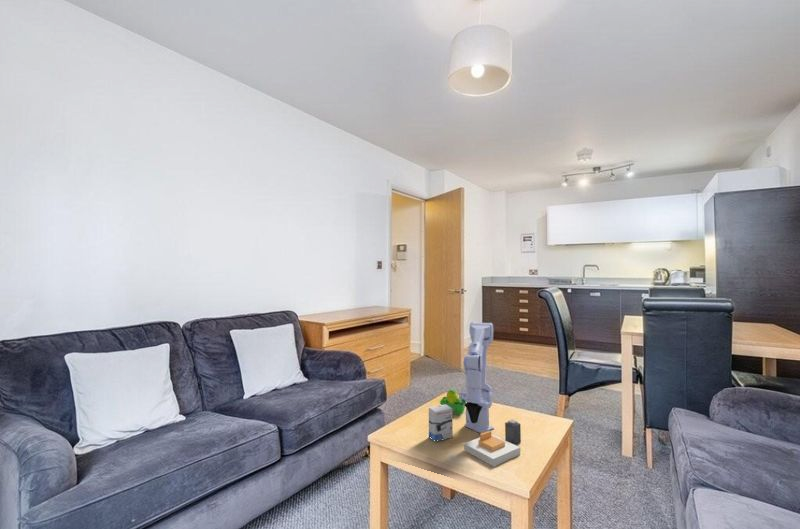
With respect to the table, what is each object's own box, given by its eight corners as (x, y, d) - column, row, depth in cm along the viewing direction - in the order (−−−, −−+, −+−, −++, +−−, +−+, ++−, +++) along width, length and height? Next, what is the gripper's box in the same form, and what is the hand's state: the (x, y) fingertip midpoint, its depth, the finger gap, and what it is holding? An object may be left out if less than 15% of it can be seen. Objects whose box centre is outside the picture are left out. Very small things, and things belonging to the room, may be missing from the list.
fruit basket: (467, 410, 175) (466, 386, 175) (462, 417, 167) (462, 392, 167) (444, 407, 180) (443, 383, 180) (438, 413, 172) (437, 389, 172)
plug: (505, 441, 143) (505, 420, 143) (512, 438, 145) (511, 418, 145) (513, 445, 140) (513, 424, 140) (520, 442, 142) (520, 421, 142)
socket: (464, 450, 136) (463, 443, 136) (490, 440, 144) (490, 433, 144) (493, 466, 125) (493, 459, 125) (520, 454, 133) (520, 447, 133)
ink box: (435, 442, 143) (434, 411, 143) (428, 437, 147) (427, 407, 147) (453, 437, 147) (452, 407, 147) (446, 432, 151) (445, 403, 151)
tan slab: (478, 444, 135) (478, 434, 135) (490, 439, 139) (490, 430, 139) (492, 451, 130) (492, 441, 130) (505, 446, 134) (504, 436, 134)
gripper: (452, 383, 146) (453, 418, 145) (480, 393, 134) (481, 431, 133) (465, 380, 150) (466, 414, 149) (493, 389, 138) (494, 426, 137)
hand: (474, 422), depth 142 cm, fingers closed
